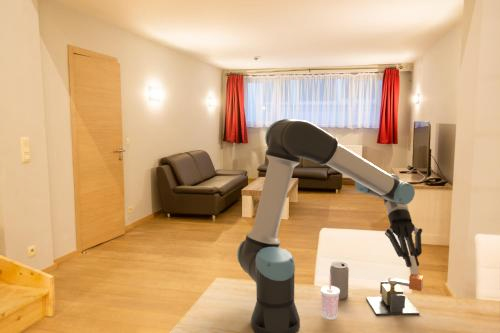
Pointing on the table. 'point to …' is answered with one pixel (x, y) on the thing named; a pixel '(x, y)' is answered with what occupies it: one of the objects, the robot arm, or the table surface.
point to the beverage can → (340, 278)
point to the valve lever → (409, 282)
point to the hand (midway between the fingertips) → (415, 276)
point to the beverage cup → (330, 301)
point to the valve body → (391, 302)
